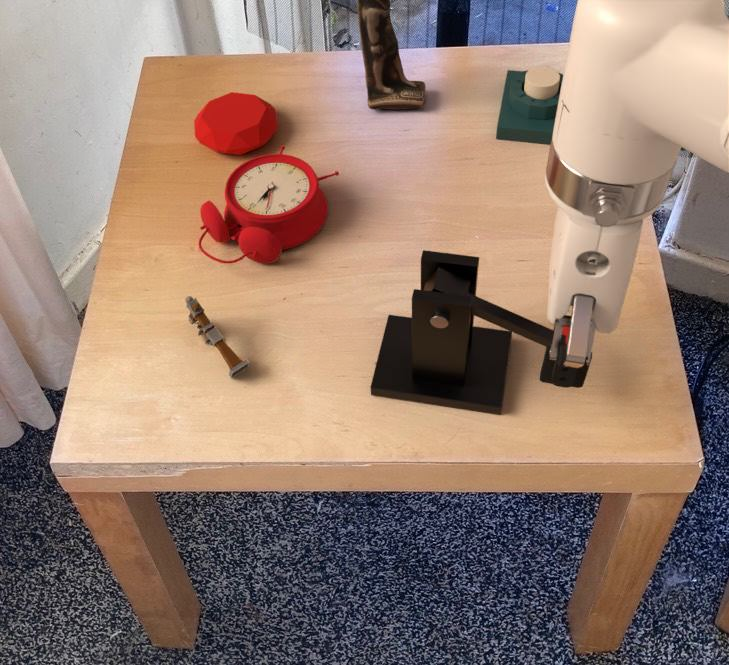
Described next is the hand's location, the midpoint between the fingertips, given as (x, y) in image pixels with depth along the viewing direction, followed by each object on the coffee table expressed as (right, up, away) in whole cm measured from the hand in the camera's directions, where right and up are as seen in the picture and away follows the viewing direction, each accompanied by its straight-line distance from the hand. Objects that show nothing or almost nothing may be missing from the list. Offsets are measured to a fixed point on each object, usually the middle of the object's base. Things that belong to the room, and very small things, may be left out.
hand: (565, 331), depth 67 cm
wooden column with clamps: (-29, -2, +9) cm, 30 cm away
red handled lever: (-5, 0, +1) cm, 5 cm away
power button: (+3, +26, +25) cm, 36 cm away
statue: (-12, +26, +30) cm, 41 cm away
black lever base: (-9, -3, +7) cm, 12 cm away
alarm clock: (-26, +11, +19) cm, 33 cm away
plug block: (+3, +24, +27) cm, 36 cm away
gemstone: (-30, +22, +28) cm, 46 cm away
